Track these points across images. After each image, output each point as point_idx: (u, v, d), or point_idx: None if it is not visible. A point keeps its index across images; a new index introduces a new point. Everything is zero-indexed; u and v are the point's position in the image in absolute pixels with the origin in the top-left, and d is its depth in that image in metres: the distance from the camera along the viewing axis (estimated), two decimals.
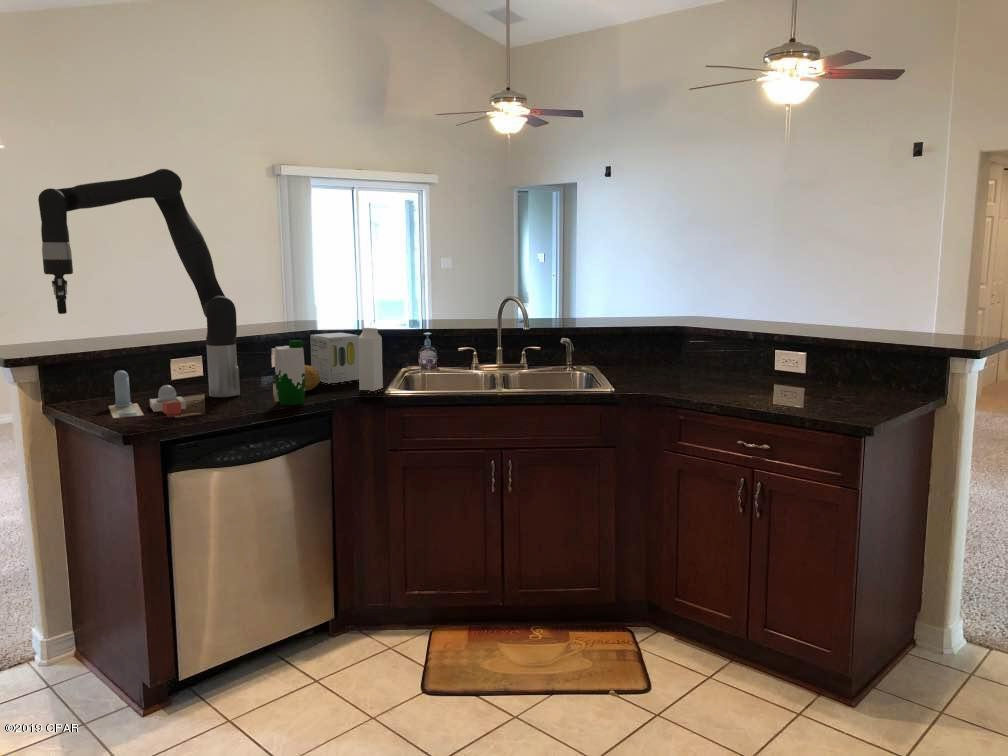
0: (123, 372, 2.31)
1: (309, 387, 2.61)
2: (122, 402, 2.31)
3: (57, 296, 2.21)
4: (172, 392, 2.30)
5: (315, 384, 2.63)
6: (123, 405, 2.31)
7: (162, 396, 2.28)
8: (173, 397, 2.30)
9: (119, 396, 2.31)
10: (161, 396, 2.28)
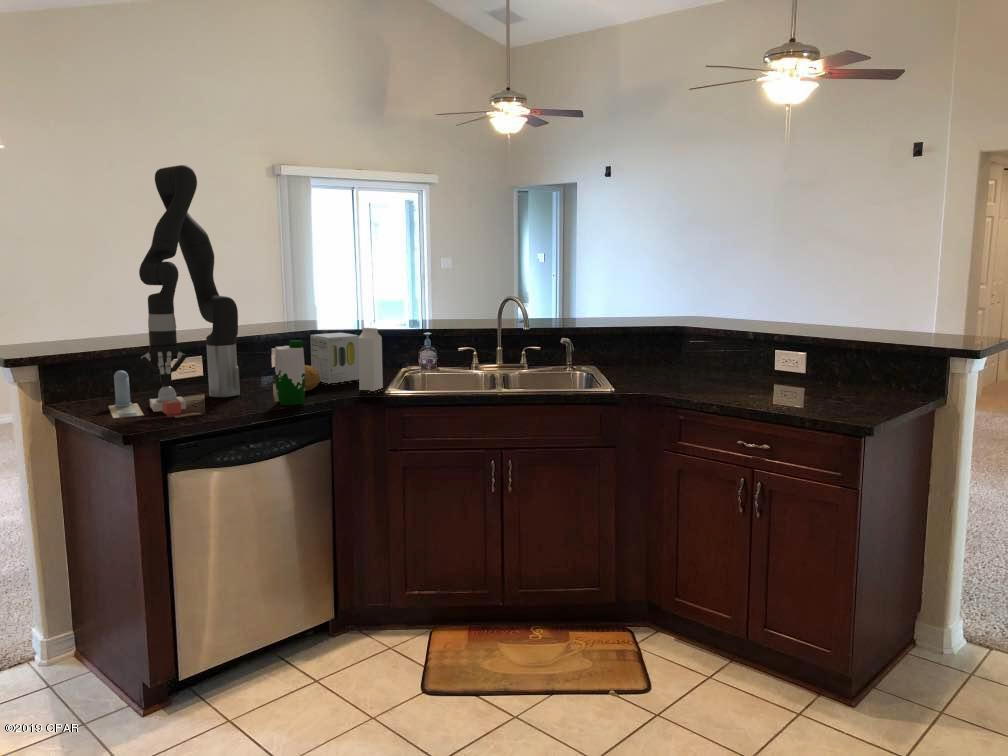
0: (123, 372, 2.31)
1: (309, 387, 2.61)
2: (122, 402, 2.31)
3: None
4: (172, 393, 2.30)
5: (315, 384, 2.63)
6: (123, 405, 2.31)
7: (162, 397, 2.28)
8: (173, 398, 2.30)
9: (119, 396, 2.31)
10: (161, 397, 2.28)
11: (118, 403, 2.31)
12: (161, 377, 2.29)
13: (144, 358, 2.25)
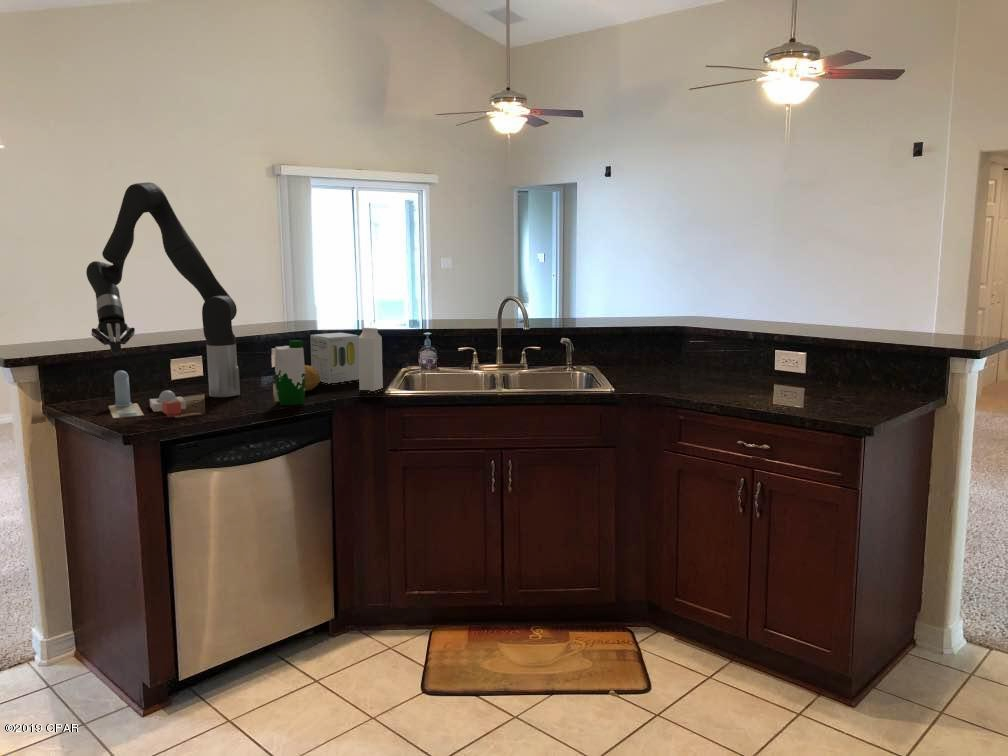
0: (123, 372, 2.31)
1: (309, 387, 2.61)
2: (122, 402, 2.31)
3: (103, 343, 2.41)
4: (172, 397, 2.30)
5: (315, 384, 2.63)
6: (123, 405, 2.31)
7: None
8: None
9: (119, 396, 2.31)
10: (161, 401, 2.29)
11: (118, 403, 2.31)
12: None
13: None
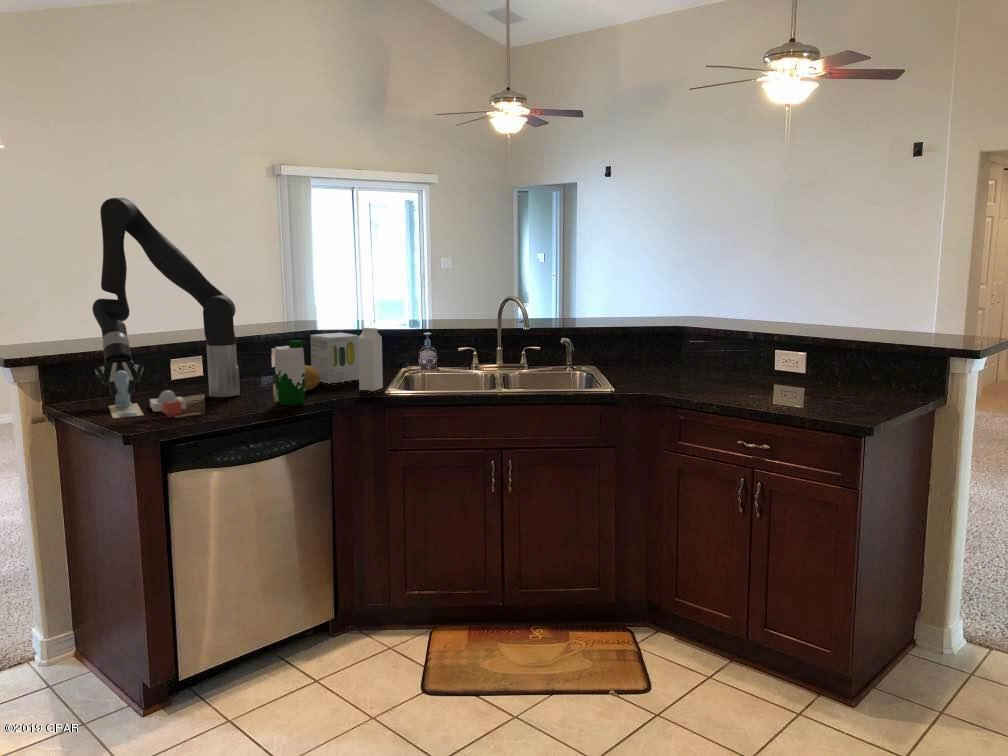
0: (123, 372, 2.31)
1: (309, 387, 2.61)
2: (122, 402, 2.31)
3: (102, 383, 2.31)
4: (172, 397, 2.30)
5: (315, 384, 2.63)
6: (123, 405, 2.31)
7: None
8: None
9: (119, 396, 2.31)
10: (161, 401, 2.29)
11: (118, 403, 2.31)
12: None
13: None
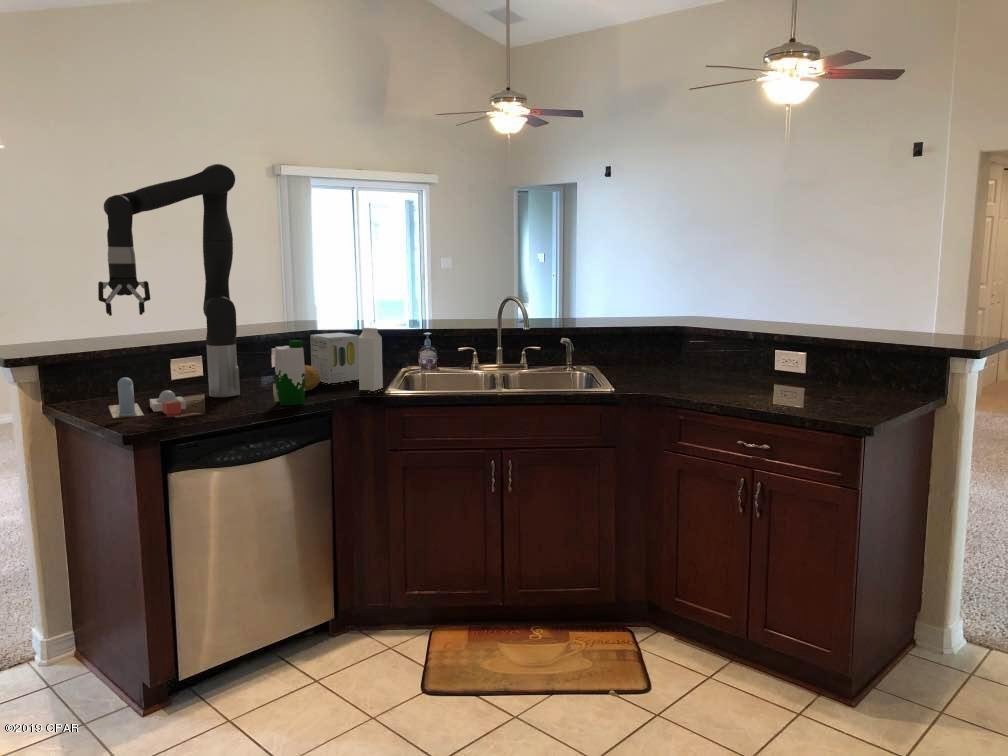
0: (127, 379, 2.18)
1: (309, 387, 2.61)
2: (126, 411, 2.18)
3: (98, 298, 2.32)
4: (172, 397, 2.30)
5: (315, 384, 2.63)
6: (127, 414, 2.18)
7: None
8: None
9: (123, 404, 2.18)
10: (161, 401, 2.29)
11: (122, 412, 2.18)
12: None
13: None
